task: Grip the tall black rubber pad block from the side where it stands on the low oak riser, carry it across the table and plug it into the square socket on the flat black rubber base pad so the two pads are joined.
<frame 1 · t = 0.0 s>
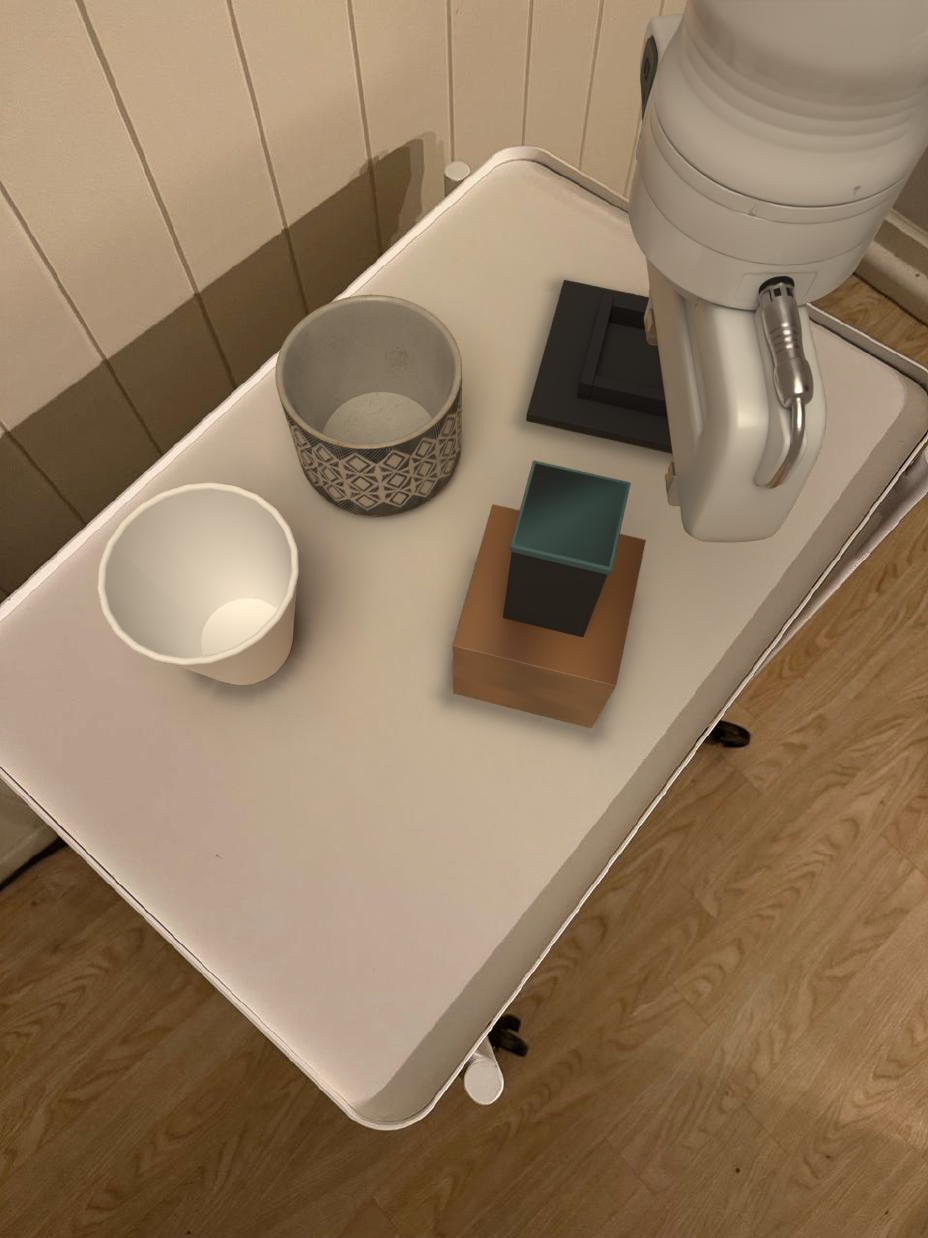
hand: (671, 410, 44), 22 cm above the table, tool pointing down, fingers open, 8 cm apart
riser: (537, 645, 63), on the table
pad block: (551, 591, 54), point 10 cm above the table, touching riser
cup: (246, 641, 63), on the table
base pad: (639, 372, 72), on the table
planter: (381, 453, 69), on the table
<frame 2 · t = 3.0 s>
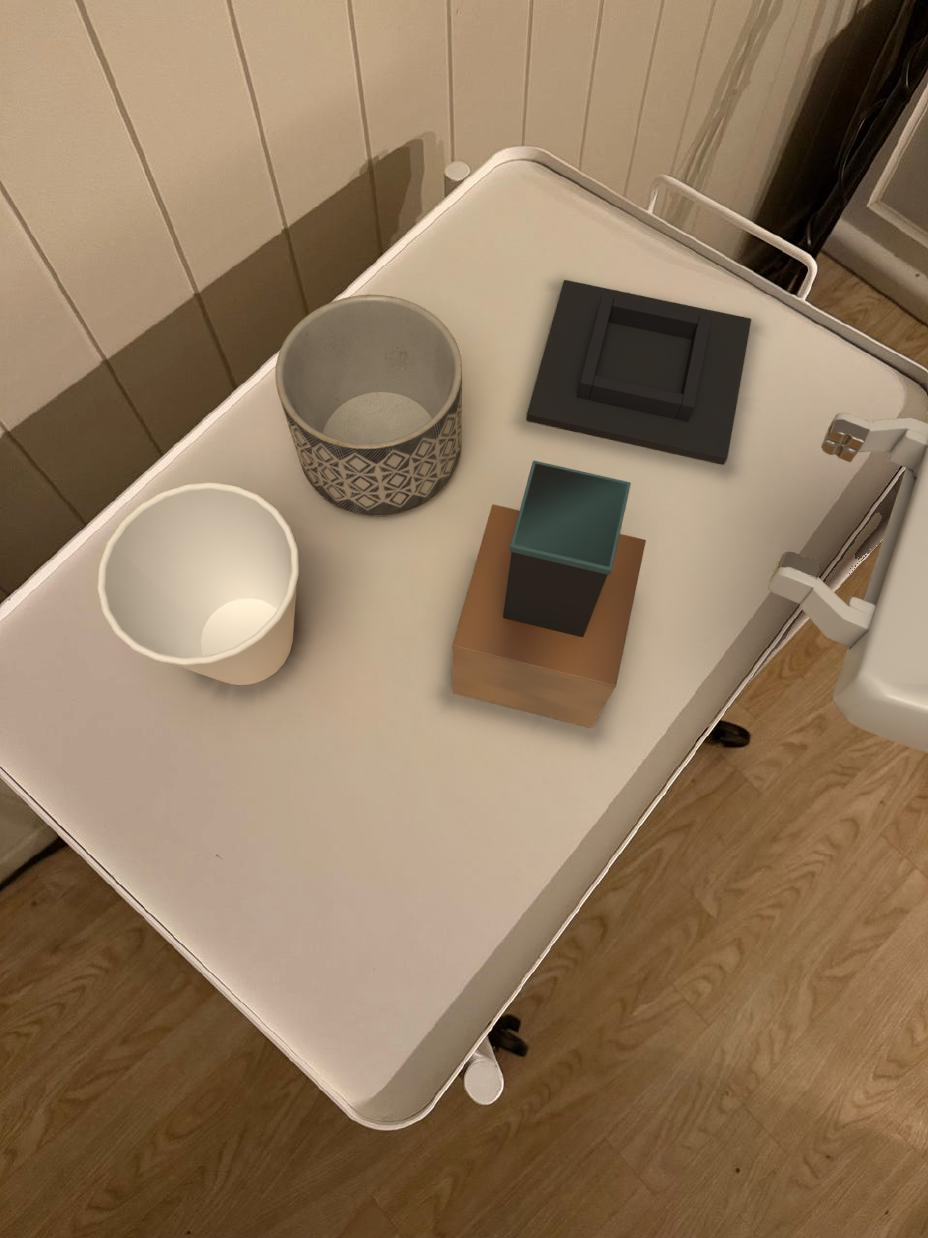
hand: (802, 497, 44), 20 cm above the table, tool horizontal, fingers open, 8 cm apart
nothing on the table moved.
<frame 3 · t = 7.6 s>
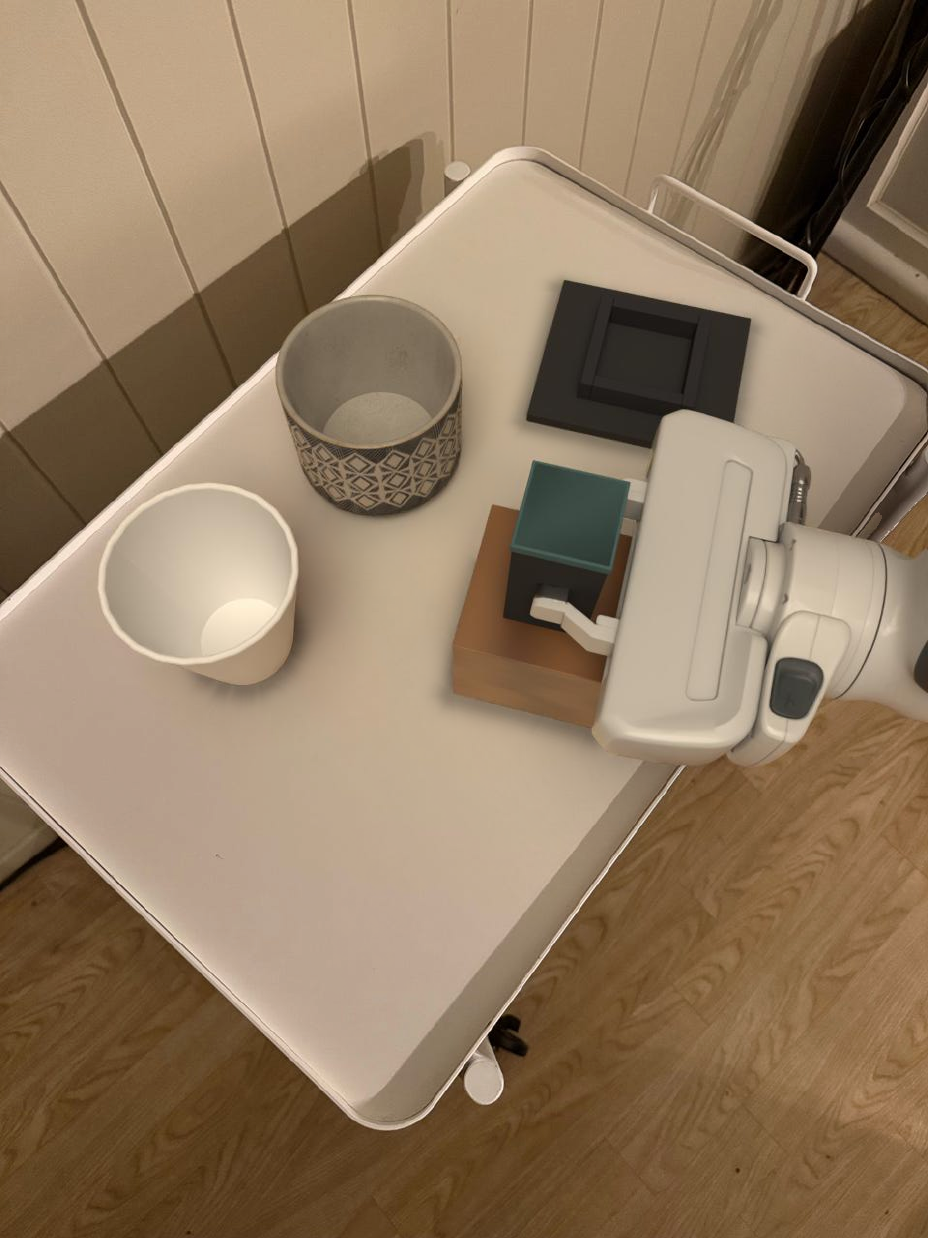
hand: (545, 548, 48), 16 cm above the table, tool horizontal, fingers closed on pad block, 5 cm apart
pad block: (551, 591, 54), point 10 cm above the table, touching gripper, riser
everything else where it was.
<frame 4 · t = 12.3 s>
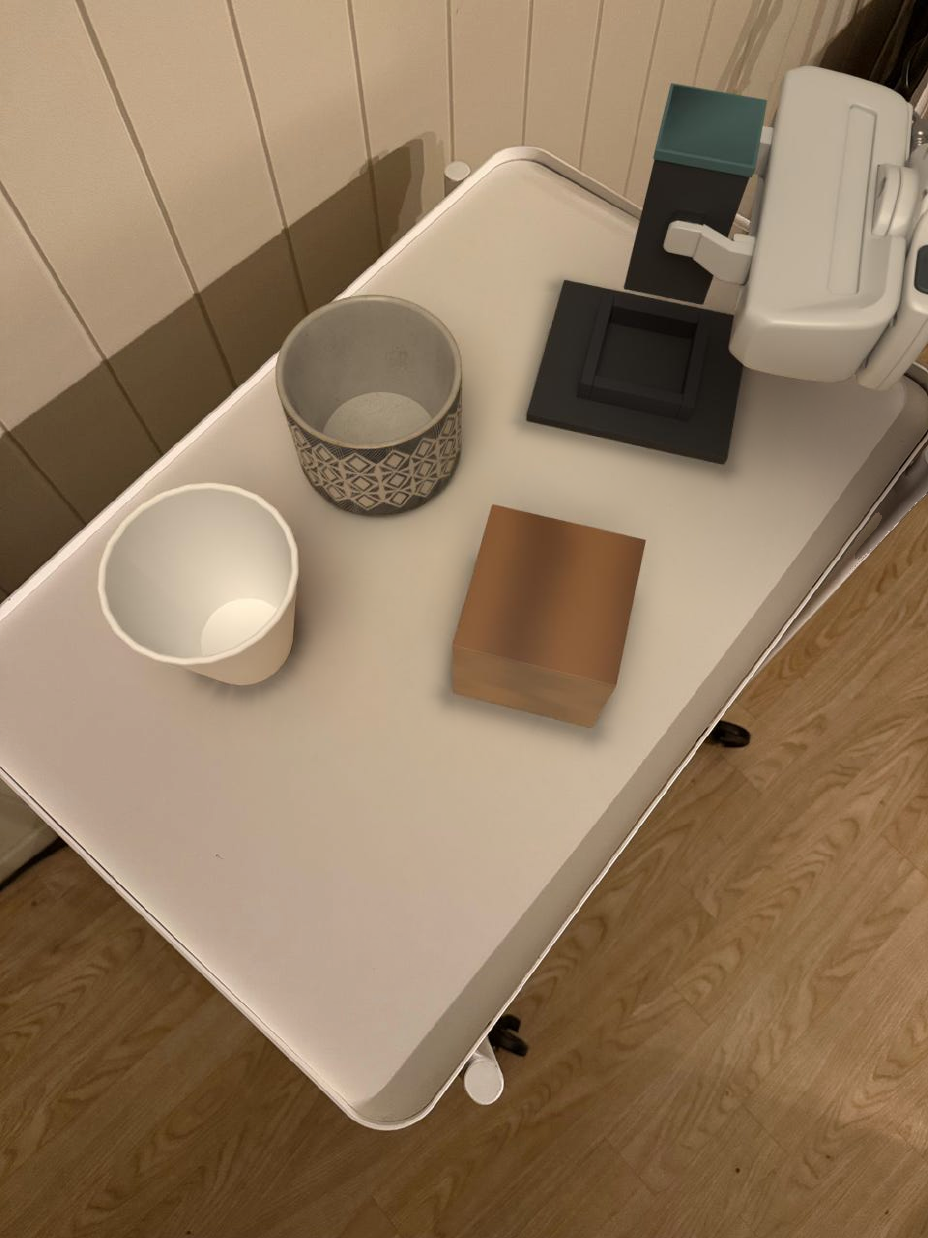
hand: (675, 189, 50), 22 cm above the table, tool horizontal, fingers closed on pad block, 5 cm apart
pad block: (669, 267, 55), point 16 cm above the table, touching gripper
everything else where it was.
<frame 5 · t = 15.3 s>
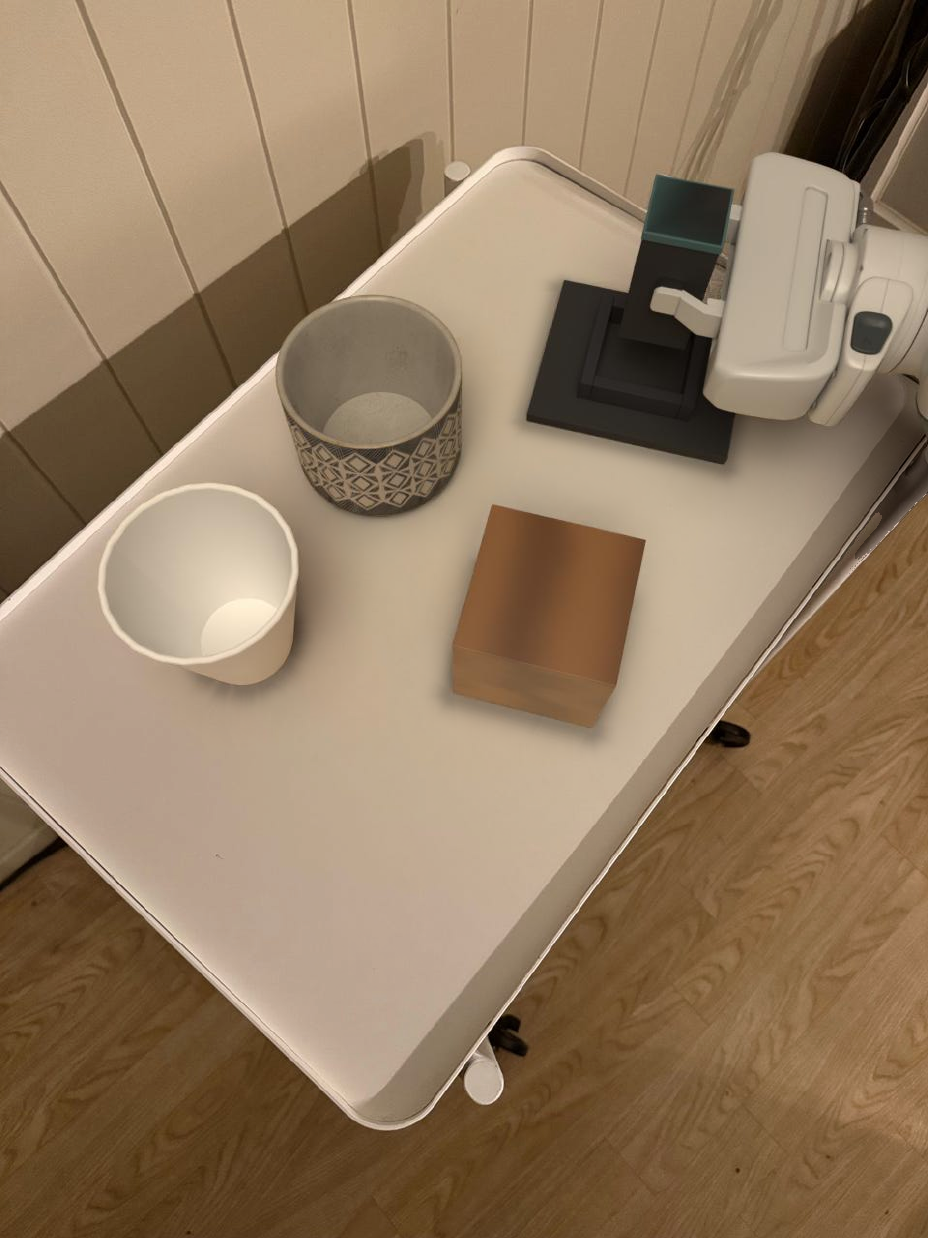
hand: (660, 257, 60), 12 cm above the table, tool horizontal, fingers closed on pad block, 5 cm apart
pad block: (656, 317, 65), point 7 cm above the table, touching gripper
everything else where it was.
when the fingers open (7 cm above the table, at t = 17.4 s): pad block stays where it is, resting on base pad.
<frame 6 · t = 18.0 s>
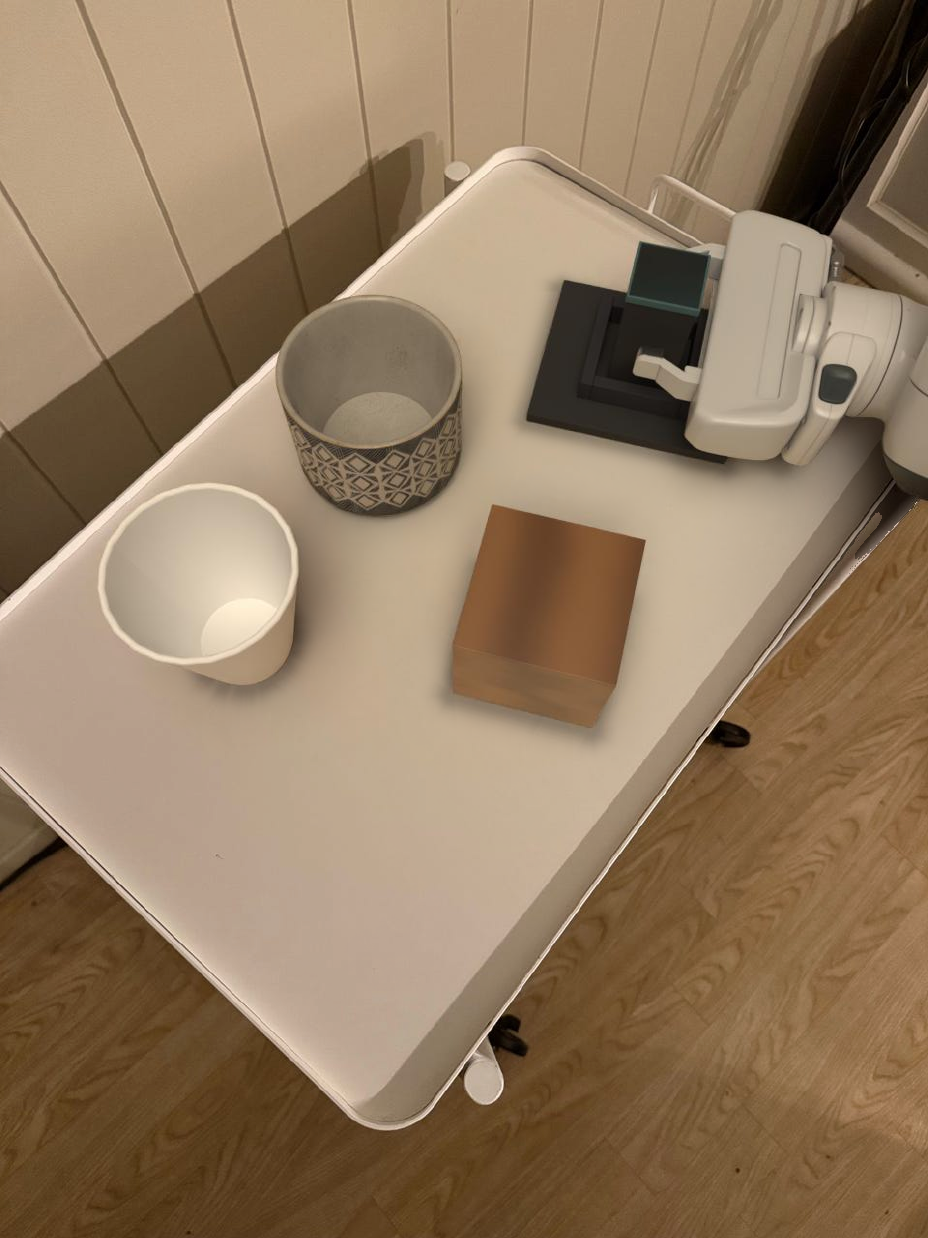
hand: (647, 308, 65), 7 cm above the table, tool horizontal, fingers open, 8 cm apart
pad block: (641, 365, 71), point 1 cm above the table, touching base pad
everything else where it was.
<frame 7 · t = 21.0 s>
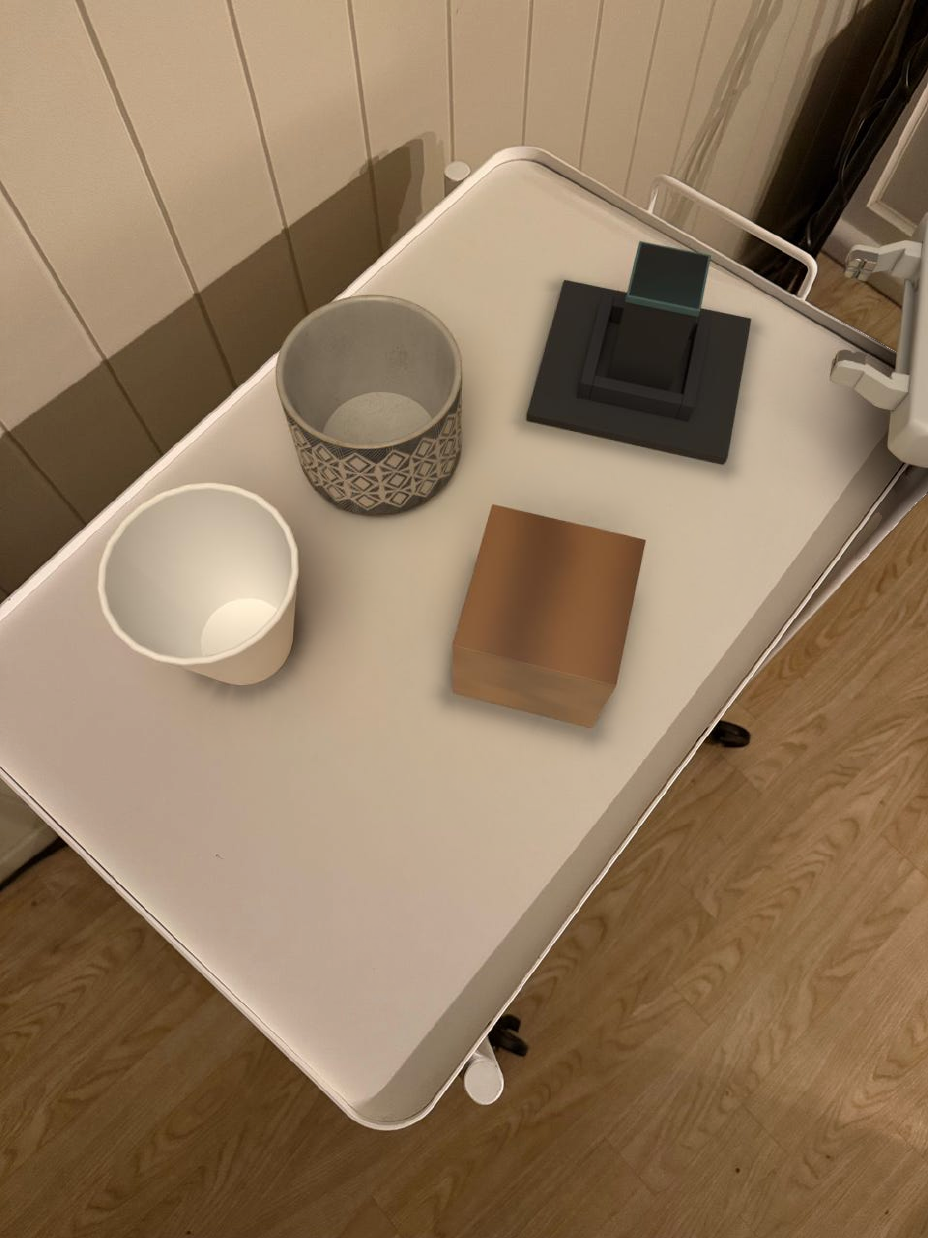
hand: (840, 310, 61), 11 cm above the table, tool horizontal, fingers open, 8 cm apart
nothing on the table moved.
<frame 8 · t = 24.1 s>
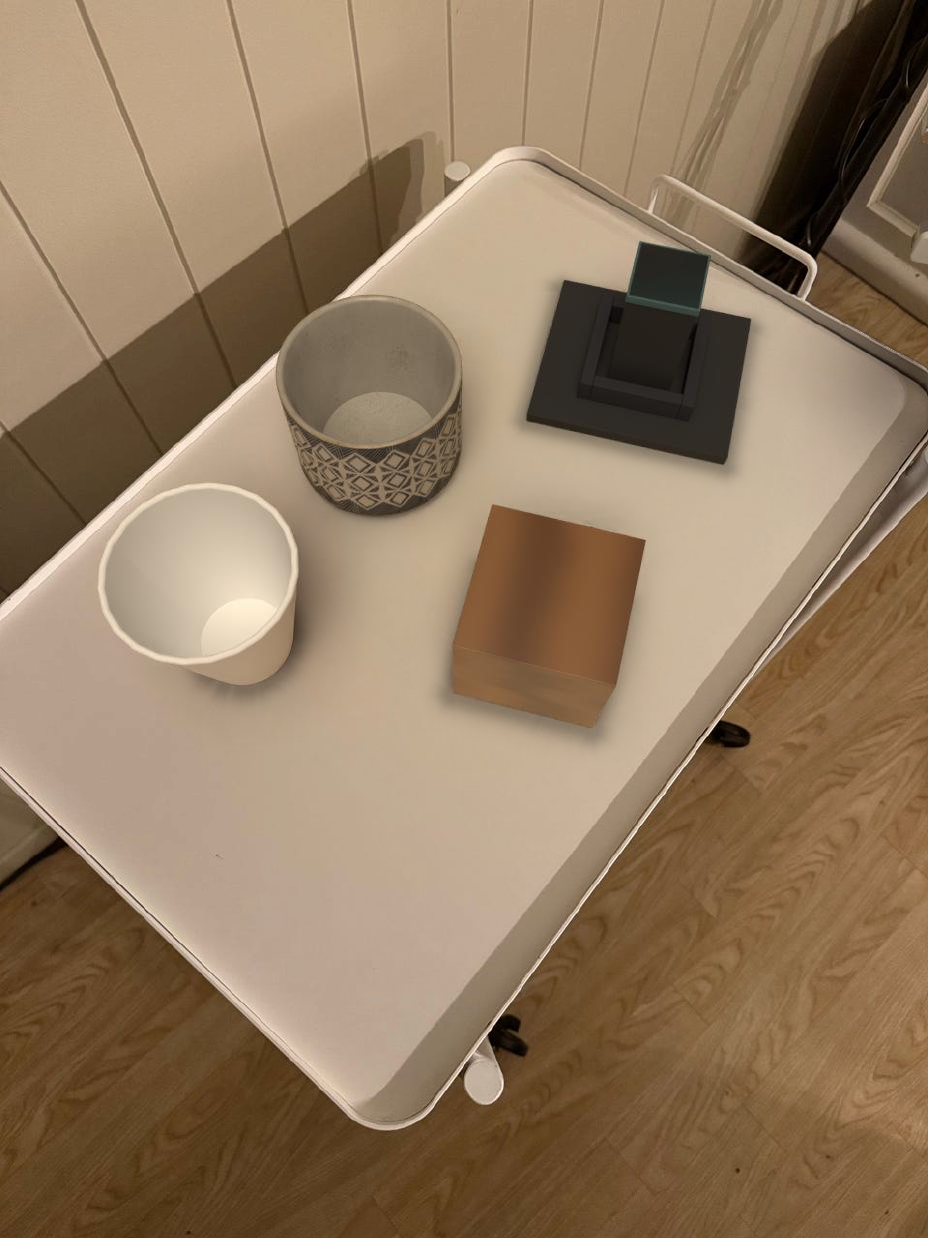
hand: (920, 177, 50), 22 cm above the table, tool horizontal, fingers open, 8 cm apart
nothing on the table moved.
at the end: pad block 0.1 cm off-centre on the base pad, point 1.0 cm above the base pad's base; pad block tilted 0°; the gripper is holding nothing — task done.
